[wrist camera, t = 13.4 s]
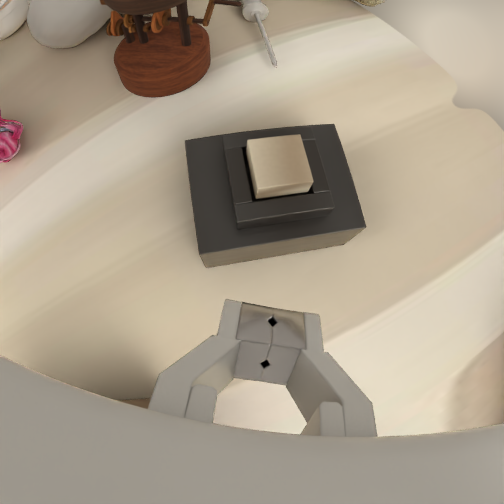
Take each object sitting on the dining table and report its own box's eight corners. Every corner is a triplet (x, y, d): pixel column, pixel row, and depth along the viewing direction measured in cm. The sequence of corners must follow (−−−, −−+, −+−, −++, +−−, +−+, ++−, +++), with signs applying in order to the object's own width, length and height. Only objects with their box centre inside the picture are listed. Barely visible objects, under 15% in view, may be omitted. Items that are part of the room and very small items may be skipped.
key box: (205, 268, 27) (196, 248, 20) (192, 170, 28) (181, 127, 22) (344, 244, 28) (376, 219, 21) (319, 153, 30) (340, 110, 23)
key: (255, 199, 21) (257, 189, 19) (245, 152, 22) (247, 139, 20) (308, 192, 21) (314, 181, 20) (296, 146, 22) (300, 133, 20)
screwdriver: (247, 66, 29) (283, 48, 27) (215, -38, 33) (238, -52, 31) (270, 85, 34) (302, 70, 31) (233, -22, 37) (255, -34, 35)
